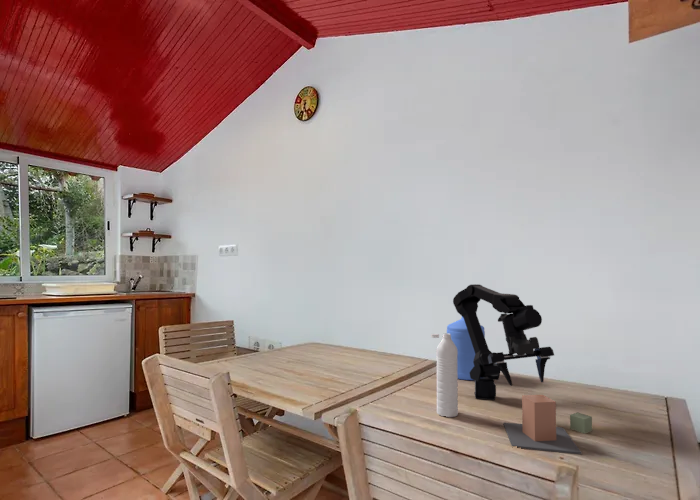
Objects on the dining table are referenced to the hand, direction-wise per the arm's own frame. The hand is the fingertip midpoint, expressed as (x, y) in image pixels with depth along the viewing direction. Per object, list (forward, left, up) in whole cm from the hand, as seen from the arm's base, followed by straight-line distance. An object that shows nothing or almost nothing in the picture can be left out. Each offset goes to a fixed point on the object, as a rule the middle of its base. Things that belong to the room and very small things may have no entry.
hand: (526, 384), depth 125 cm
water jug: (-16, +46, -11) cm, 50 cm away
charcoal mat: (0, -15, -10) cm, 18 cm away
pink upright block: (0, -15, -10) cm, 18 cm away
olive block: (+13, -6, -10) cm, 18 cm away
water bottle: (-25, -3, -10) cm, 27 cm away
